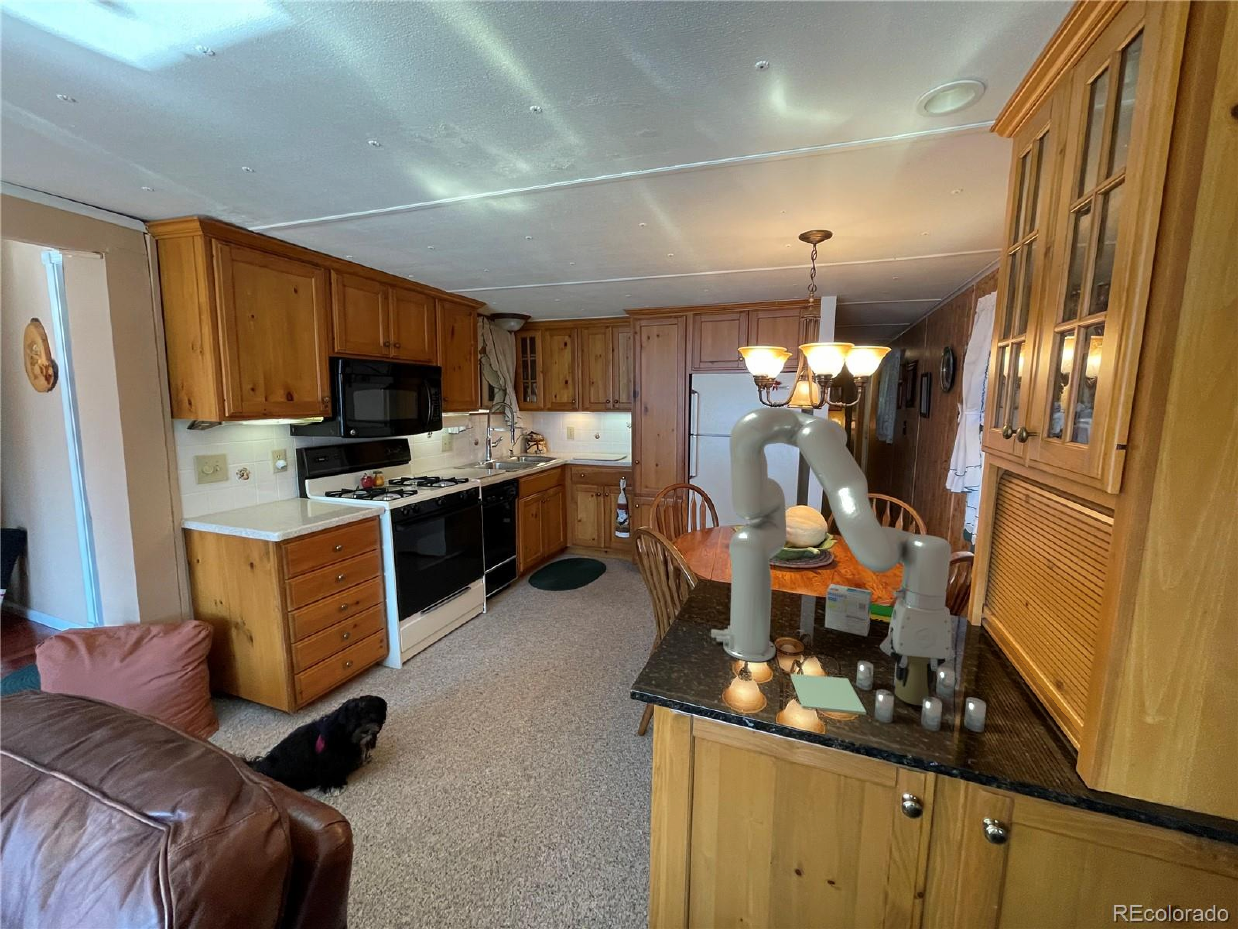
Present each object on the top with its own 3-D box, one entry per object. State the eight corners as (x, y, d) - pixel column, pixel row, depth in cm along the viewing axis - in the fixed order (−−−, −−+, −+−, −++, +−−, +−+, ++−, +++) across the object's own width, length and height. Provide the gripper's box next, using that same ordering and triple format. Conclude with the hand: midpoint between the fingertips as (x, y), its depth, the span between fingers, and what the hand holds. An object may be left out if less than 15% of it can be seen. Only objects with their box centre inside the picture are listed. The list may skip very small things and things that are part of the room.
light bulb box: (869, 628, 133) (872, 590, 132) (867, 637, 127) (869, 598, 126) (828, 618, 139) (830, 582, 138) (823, 627, 133) (826, 590, 132)
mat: (802, 708, 97) (802, 706, 97) (790, 676, 109) (790, 673, 109) (866, 714, 95) (866, 712, 95) (847, 681, 107) (847, 678, 107)
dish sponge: (862, 609, 146) (862, 601, 146) (915, 619, 140) (916, 611, 139) (861, 618, 140) (862, 610, 140) (917, 628, 133) (918, 620, 133)
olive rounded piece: (934, 707, 95) (940, 654, 94) (900, 703, 96) (905, 651, 95) (921, 689, 101) (927, 640, 99) (890, 685, 102) (895, 636, 101)
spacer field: (879, 725, 92) (881, 700, 91) (853, 679, 108) (854, 658, 107) (990, 736, 89) (993, 711, 88) (946, 687, 105) (948, 665, 104)
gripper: (884, 602, 93) (876, 690, 96) (979, 609, 91) (968, 700, 93) (871, 587, 101) (863, 670, 103) (958, 594, 98) (948, 678, 101)
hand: (913, 683), depth 98 cm, fingers closed on olive rounded piece, 3 cm apart
